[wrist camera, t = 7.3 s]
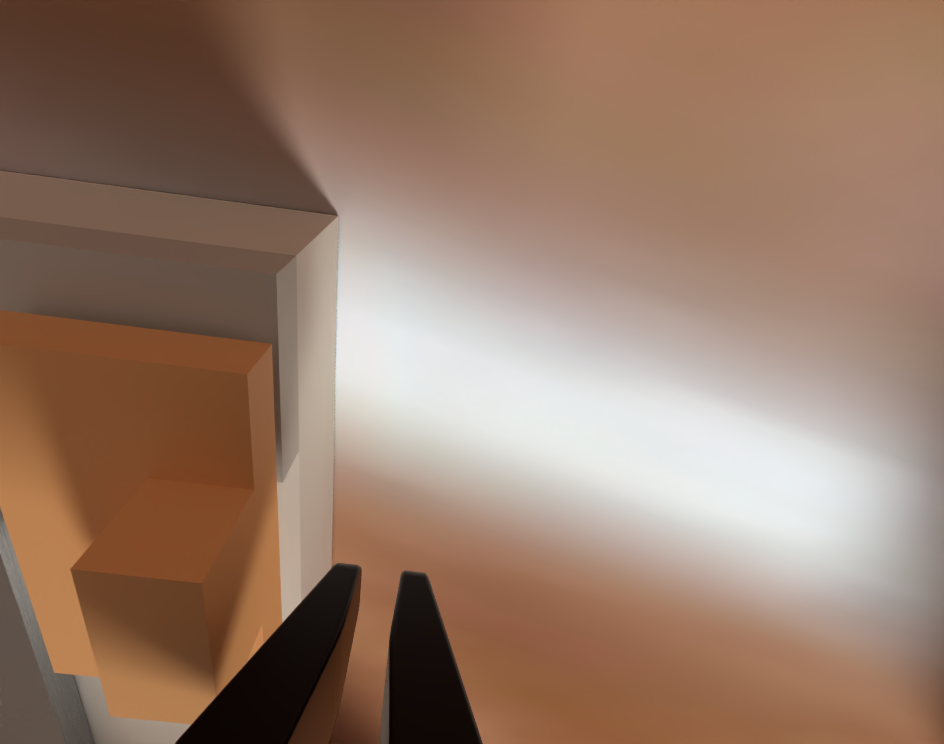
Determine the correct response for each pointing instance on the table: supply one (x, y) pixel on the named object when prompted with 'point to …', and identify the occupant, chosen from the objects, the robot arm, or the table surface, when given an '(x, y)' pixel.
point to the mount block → (195, 330)
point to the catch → (142, 504)
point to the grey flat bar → (31, 670)
